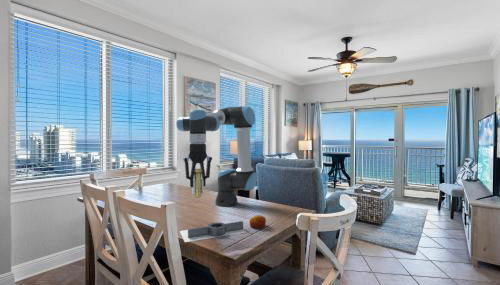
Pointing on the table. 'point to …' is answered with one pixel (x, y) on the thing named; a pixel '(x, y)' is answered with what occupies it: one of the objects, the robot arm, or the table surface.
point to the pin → (197, 182)
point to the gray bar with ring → (215, 229)
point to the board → (186, 239)
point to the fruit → (257, 222)
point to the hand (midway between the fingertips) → (197, 193)
